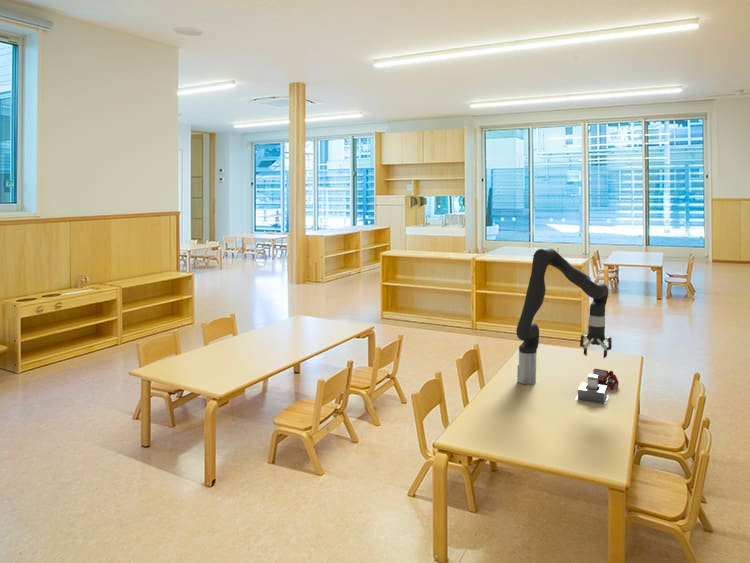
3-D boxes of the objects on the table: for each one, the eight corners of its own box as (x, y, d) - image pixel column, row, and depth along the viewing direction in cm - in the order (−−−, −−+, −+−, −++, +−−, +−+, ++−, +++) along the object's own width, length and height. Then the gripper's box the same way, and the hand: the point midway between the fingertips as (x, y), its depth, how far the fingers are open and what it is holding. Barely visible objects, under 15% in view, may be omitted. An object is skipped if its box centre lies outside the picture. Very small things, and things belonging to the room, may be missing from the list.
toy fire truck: (616, 393, 286) (617, 374, 284) (591, 389, 293) (591, 370, 291) (619, 389, 292) (620, 370, 290) (594, 385, 299) (595, 366, 297)
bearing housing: (575, 402, 275) (575, 389, 274) (579, 393, 287) (579, 381, 286) (605, 407, 268) (606, 394, 267) (608, 397, 281) (609, 385, 280)
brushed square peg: (586, 397, 277) (587, 376, 275) (588, 395, 280) (589, 373, 279) (596, 399, 275) (597, 377, 273) (597, 396, 278) (598, 375, 277)
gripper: (580, 324, 272) (578, 356, 275) (611, 327, 266) (610, 360, 268) (582, 321, 279) (580, 352, 282) (613, 324, 272) (611, 356, 275)
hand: (595, 356), depth 275 cm, fingers open, 8 cm apart
